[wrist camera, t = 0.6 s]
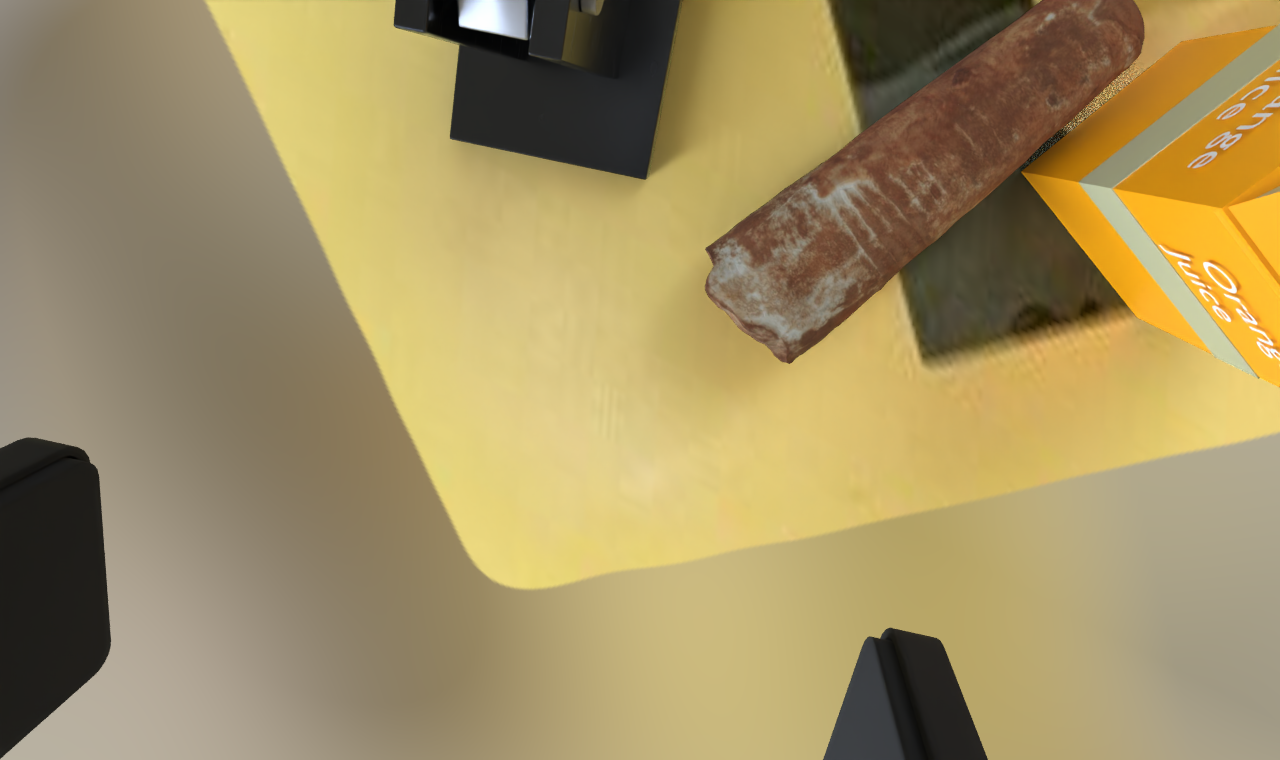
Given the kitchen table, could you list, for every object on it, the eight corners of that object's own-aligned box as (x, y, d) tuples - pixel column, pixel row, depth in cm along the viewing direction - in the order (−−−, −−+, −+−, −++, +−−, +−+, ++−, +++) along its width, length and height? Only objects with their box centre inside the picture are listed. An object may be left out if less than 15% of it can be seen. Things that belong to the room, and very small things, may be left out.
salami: (691, 250, 36) (685, 272, 31) (1072, -46, 31) (1142, -80, 26) (772, 354, 37) (779, 392, 32) (1152, 86, 32) (1235, 79, 27)
